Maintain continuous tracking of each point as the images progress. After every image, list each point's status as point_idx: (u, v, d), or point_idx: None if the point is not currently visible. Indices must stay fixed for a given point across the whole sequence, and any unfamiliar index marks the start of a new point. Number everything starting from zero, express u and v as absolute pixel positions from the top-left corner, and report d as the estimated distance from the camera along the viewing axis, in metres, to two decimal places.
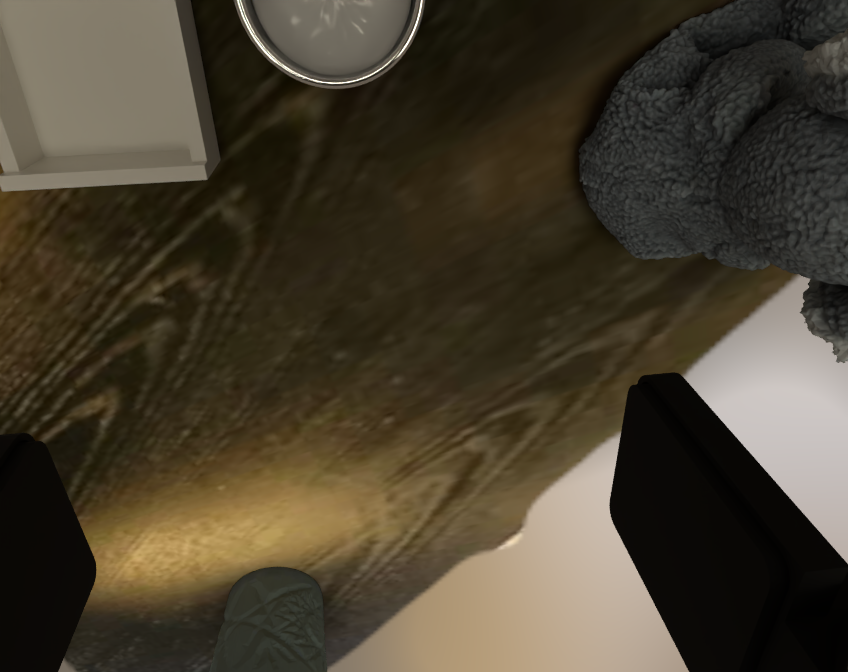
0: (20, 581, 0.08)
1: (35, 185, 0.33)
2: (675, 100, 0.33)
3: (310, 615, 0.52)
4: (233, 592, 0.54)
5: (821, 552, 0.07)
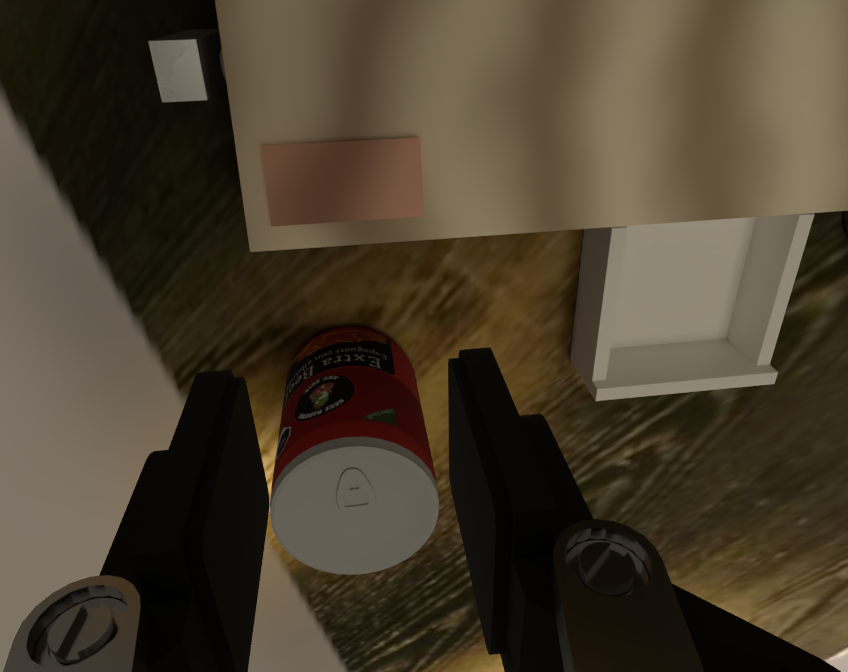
0: (243, 493, 0.09)
1: (626, 395, 0.34)
2: None
3: None
4: None
5: (539, 496, 0.07)
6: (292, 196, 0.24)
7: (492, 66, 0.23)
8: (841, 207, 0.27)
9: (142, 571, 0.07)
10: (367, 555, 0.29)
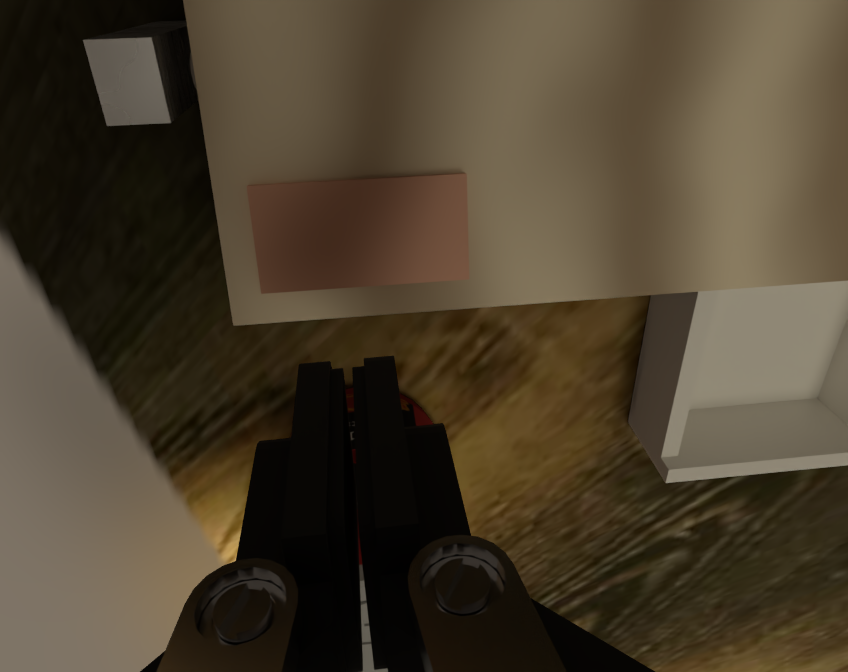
0: (350, 481, 0.10)
1: (703, 475, 0.28)
2: None
3: None
4: None
5: (402, 511, 0.07)
6: (290, 253, 0.17)
7: (568, 75, 0.17)
8: None
9: (290, 554, 0.07)
10: None
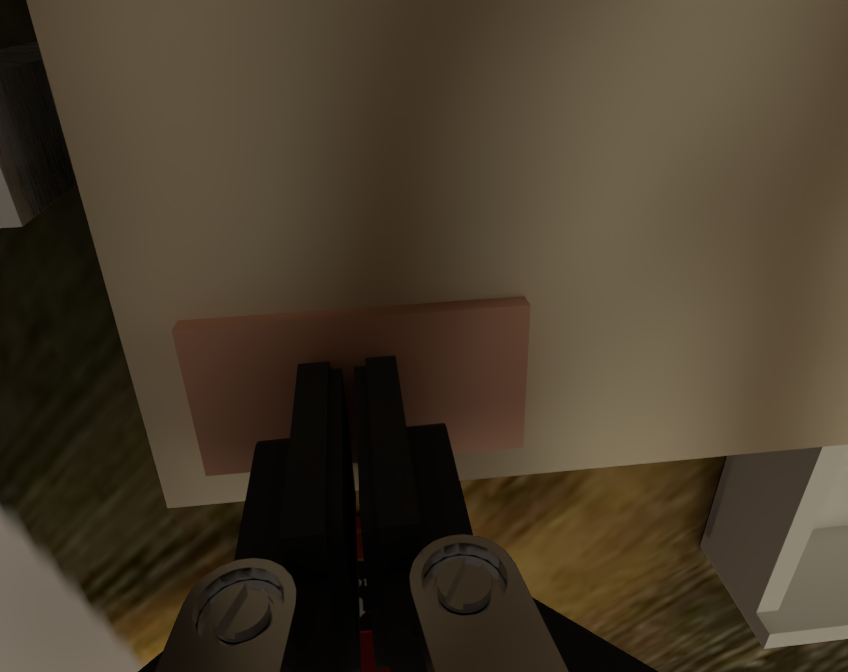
0: (348, 482, 0.10)
1: (813, 639, 0.21)
2: None
3: None
4: None
5: (404, 511, 0.07)
6: (248, 423, 0.11)
7: (707, 147, 0.10)
8: None
9: (288, 554, 0.07)
10: None
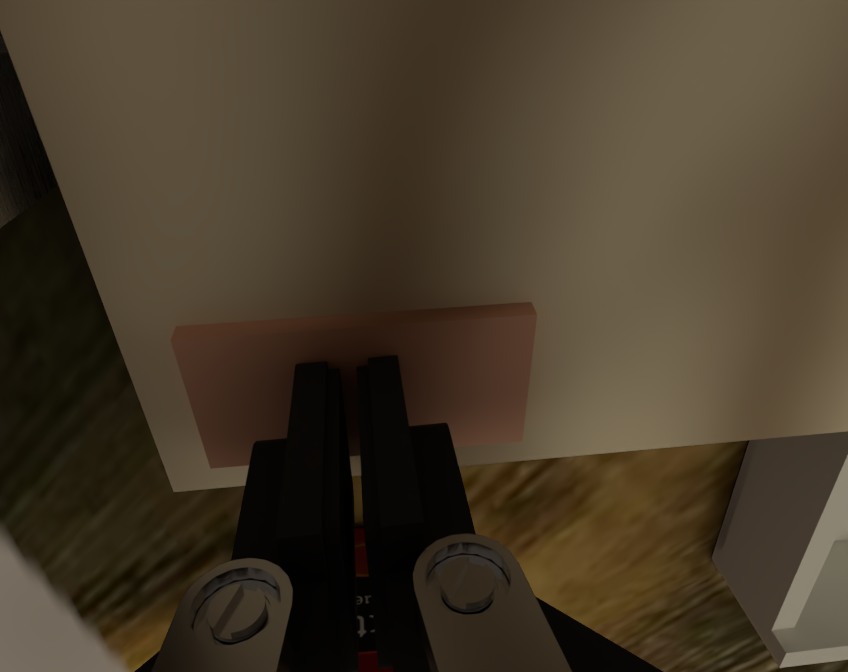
0: (346, 482, 0.10)
1: (831, 657, 0.20)
2: None
3: None
4: None
5: (407, 510, 0.07)
6: (251, 422, 0.11)
7: (733, 156, 0.09)
8: None
9: (285, 554, 0.07)
10: None
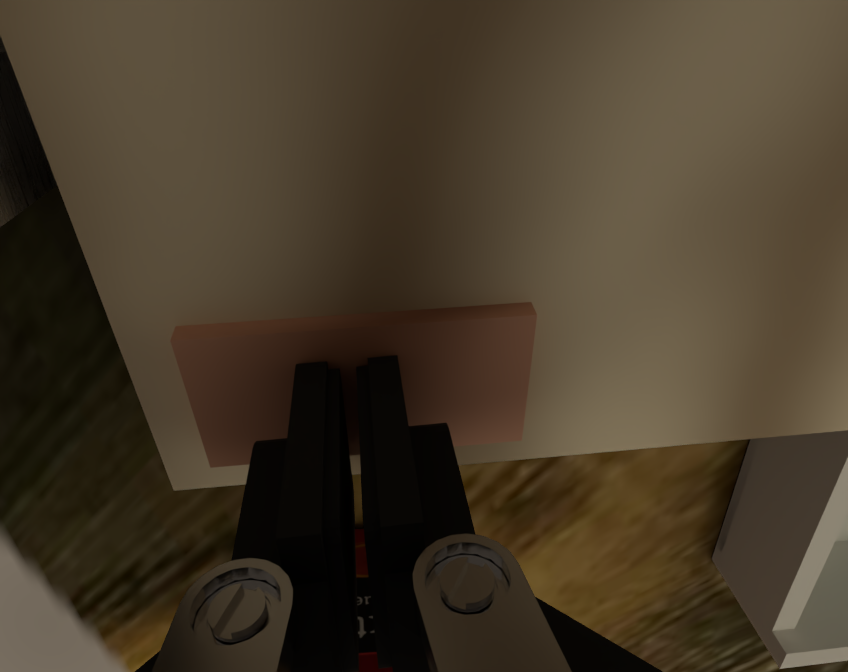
0: (346, 481, 0.10)
1: (831, 658, 0.20)
2: None
3: None
4: None
5: (407, 510, 0.07)
6: (251, 422, 0.11)
7: (734, 156, 0.09)
8: None
9: (285, 554, 0.07)
10: None
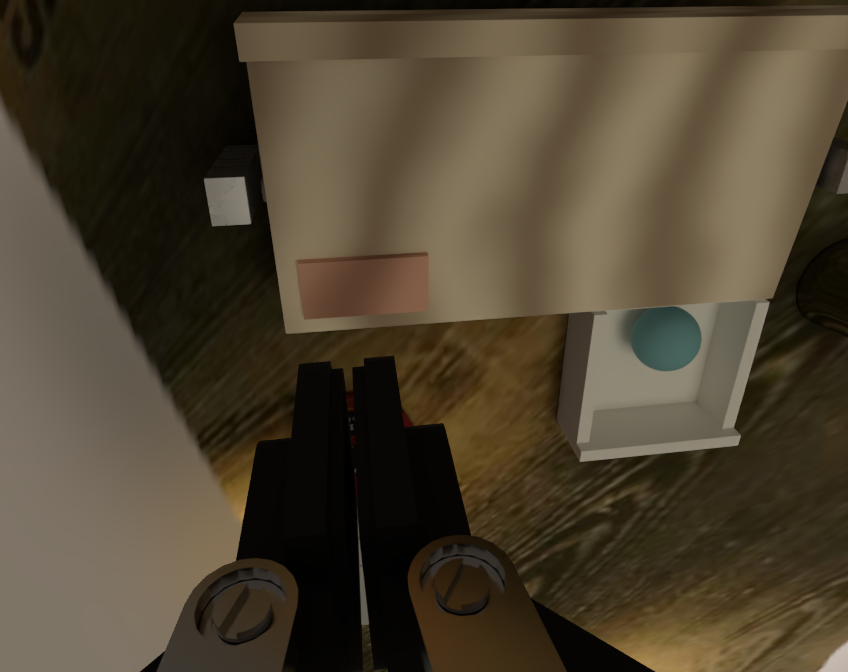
0: (350, 481, 0.10)
1: (606, 456, 0.38)
2: None
3: None
4: None
5: (402, 511, 0.07)
6: (322, 298, 0.29)
7: (492, 199, 0.28)
8: (761, 296, 0.33)
9: (290, 554, 0.07)
10: None
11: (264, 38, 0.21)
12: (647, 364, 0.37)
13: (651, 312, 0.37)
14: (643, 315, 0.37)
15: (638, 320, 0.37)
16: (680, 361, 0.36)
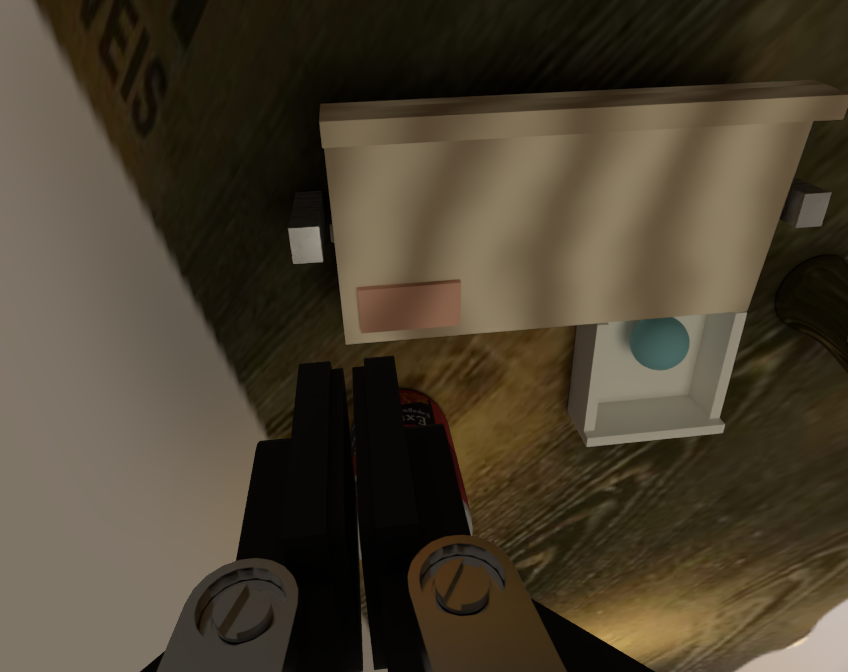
0: (350, 481, 0.10)
1: (609, 442, 0.45)
2: None
3: None
4: None
5: (402, 511, 0.07)
6: (375, 317, 0.36)
7: (512, 238, 0.35)
8: (737, 309, 0.40)
9: (290, 554, 0.07)
10: None
11: (341, 131, 0.28)
12: (643, 364, 0.44)
13: (647, 320, 0.43)
14: (640, 323, 0.44)
15: (636, 327, 0.44)
16: (671, 362, 0.43)
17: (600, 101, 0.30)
